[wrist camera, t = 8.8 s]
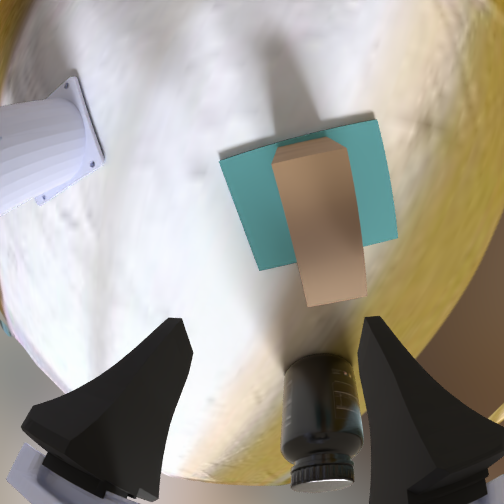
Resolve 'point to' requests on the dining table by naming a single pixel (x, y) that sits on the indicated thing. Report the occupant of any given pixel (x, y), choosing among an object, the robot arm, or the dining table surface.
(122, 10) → the dining table surface
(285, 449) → the supplement bottle
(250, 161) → the teal mat
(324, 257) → the brown block
